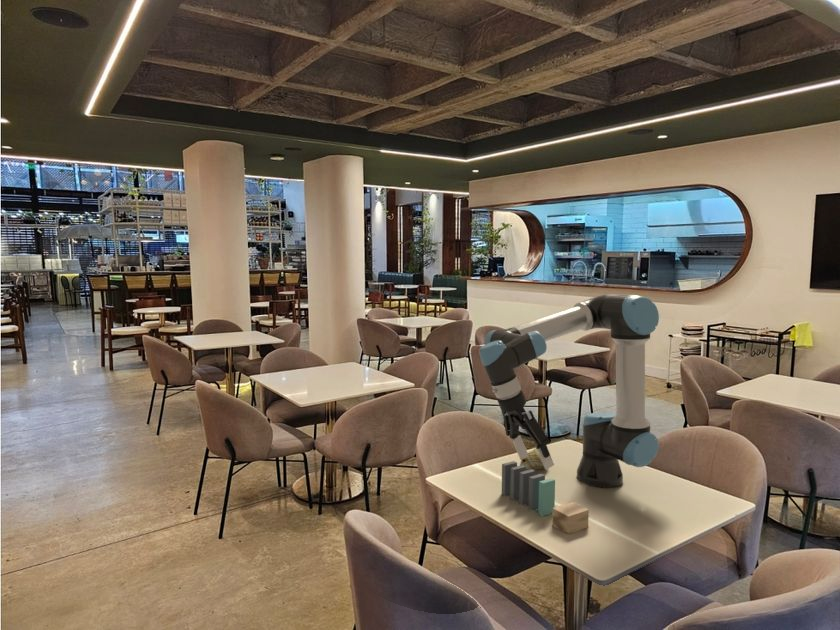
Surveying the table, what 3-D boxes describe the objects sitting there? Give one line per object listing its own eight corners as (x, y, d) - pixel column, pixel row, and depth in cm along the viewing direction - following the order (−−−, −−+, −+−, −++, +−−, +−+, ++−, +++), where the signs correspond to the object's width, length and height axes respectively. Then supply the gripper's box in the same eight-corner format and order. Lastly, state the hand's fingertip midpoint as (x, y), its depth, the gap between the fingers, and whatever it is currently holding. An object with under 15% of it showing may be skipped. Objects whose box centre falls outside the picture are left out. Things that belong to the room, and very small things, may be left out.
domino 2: (510, 498, 169) (510, 468, 168) (522, 495, 172) (522, 465, 171) (513, 500, 168) (514, 469, 167) (525, 497, 171) (526, 466, 170)
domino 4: (528, 508, 162) (529, 476, 161) (540, 505, 165) (541, 473, 164) (532, 510, 161) (532, 478, 160) (544, 507, 163) (545, 475, 163)
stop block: (552, 525, 152) (552, 508, 151) (572, 518, 156) (572, 501, 156) (568, 533, 147) (568, 516, 146) (588, 526, 151) (588, 509, 150)
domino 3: (519, 503, 166) (519, 472, 165) (531, 500, 168) (531, 469, 167) (522, 505, 164) (523, 474, 164) (534, 501, 167) (535, 470, 166)
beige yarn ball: (516, 470, 191) (518, 442, 195) (522, 474, 199) (525, 447, 203) (544, 473, 187) (546, 445, 190) (550, 477, 195) (552, 450, 198)
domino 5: (538, 514, 159) (539, 481, 158) (550, 510, 161) (551, 478, 160) (542, 516, 157) (542, 483, 156) (554, 512, 160) (555, 479, 159)
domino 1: (501, 493, 173) (502, 463, 172) (513, 490, 175) (513, 461, 175) (504, 495, 172) (505, 465, 171) (516, 492, 174) (517, 462, 173)
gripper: (479, 396, 162) (505, 459, 163) (520, 404, 138) (550, 478, 140) (499, 386, 164) (524, 448, 166) (543, 392, 140) (572, 464, 142)
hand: (536, 462), depth 153 cm, fingers open, 13 cm apart
